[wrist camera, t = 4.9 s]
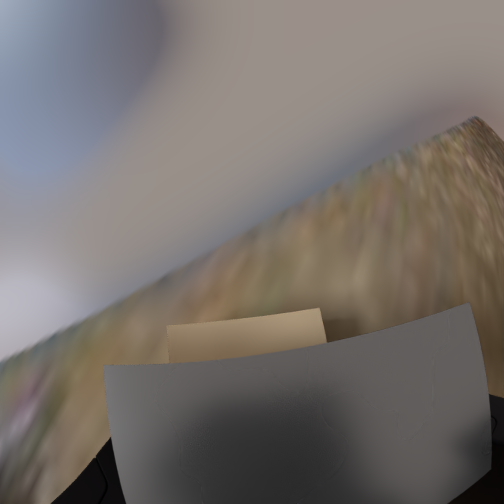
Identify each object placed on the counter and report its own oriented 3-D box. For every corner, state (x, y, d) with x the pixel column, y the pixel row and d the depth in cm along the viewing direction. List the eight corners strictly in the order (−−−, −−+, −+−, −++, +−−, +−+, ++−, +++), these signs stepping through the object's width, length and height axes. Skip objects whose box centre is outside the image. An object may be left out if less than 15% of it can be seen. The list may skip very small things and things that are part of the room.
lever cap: (324, 441, 10) (489, 494, 2) (206, 461, 9) (166, 599, 1) (312, 365, 11) (469, 301, 3) (194, 382, 11) (103, 364, 3)
